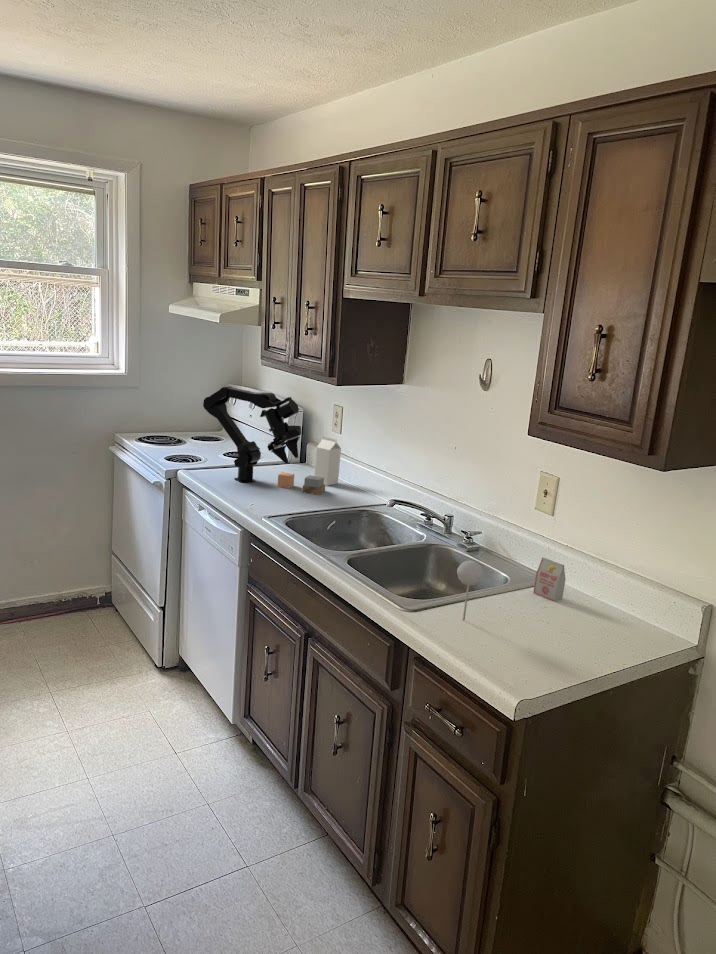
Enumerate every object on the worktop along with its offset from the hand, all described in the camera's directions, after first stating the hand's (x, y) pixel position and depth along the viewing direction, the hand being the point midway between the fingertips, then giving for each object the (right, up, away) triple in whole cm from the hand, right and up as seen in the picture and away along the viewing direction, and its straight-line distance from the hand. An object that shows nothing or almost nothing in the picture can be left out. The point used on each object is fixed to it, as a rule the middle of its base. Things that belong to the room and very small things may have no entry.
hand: (292, 460), depth 277 cm
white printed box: (+77, -39, -84) cm, 120 cm away
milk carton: (+12, -9, +19) cm, 24 cm away
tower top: (+8, -10, +3) cm, 13 cm away
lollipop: (+51, -41, -104) cm, 123 cm away
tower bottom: (+8, -12, +4) cm, 15 cm away
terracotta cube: (-3, -10, +8) cm, 13 cm away
